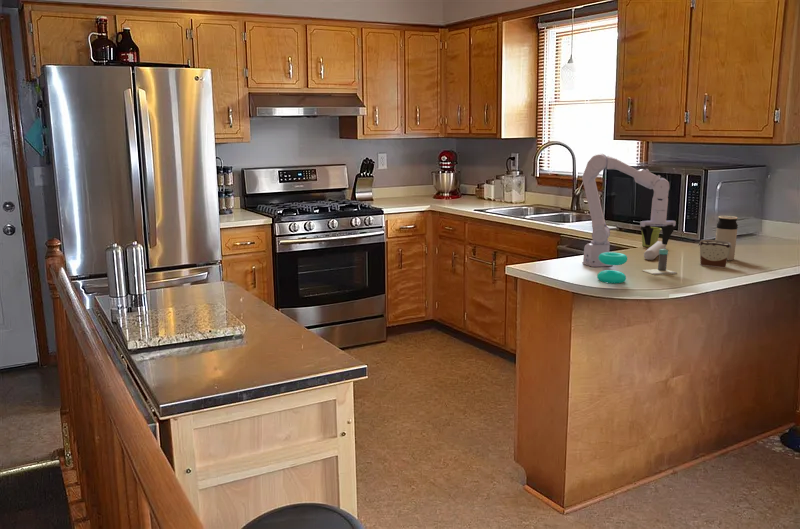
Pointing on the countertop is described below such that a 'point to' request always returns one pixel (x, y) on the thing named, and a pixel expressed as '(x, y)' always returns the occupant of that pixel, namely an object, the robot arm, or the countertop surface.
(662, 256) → the marker
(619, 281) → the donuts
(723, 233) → the travel mug
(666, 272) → the notepad
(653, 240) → the plant pot
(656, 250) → the tube
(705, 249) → the food container
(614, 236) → the countertop surface
